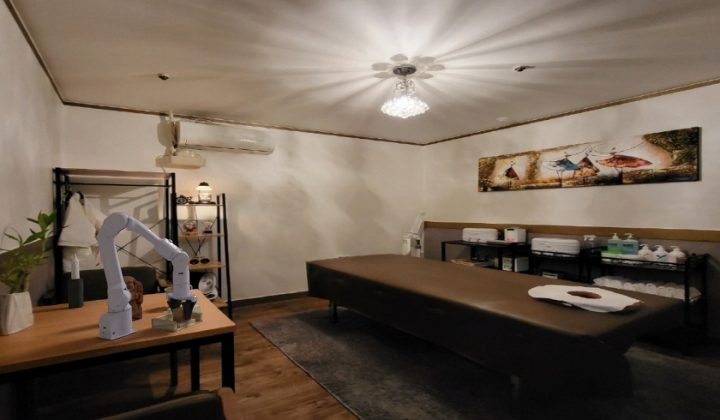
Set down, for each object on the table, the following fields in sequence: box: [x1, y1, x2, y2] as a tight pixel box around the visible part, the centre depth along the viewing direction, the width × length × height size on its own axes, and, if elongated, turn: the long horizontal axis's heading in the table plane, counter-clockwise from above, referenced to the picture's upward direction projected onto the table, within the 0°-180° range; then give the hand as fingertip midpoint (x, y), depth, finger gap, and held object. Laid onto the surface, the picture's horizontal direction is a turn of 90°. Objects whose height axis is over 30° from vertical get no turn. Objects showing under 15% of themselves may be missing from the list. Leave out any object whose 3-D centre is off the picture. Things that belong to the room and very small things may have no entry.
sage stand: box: [167, 304, 202, 314], centre depth 157 cm, size 9×9×3 cm
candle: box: [67, 253, 85, 310], centre depth 172 cm, size 5×5×25 cm
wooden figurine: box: [107, 275, 144, 322], centre depth 150 cm, size 12×6×18 cm, turn 140°
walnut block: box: [173, 307, 191, 324], centre depth 142 cm, size 5×4×5 cm
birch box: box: [150, 311, 203, 333], centre depth 143 cm, size 13×12×4 cm
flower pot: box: [163, 286, 185, 309], centre depth 169 cm, size 9×9×9 cm
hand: (182, 318), depth 142 cm, fingers open, 5 cm apart
